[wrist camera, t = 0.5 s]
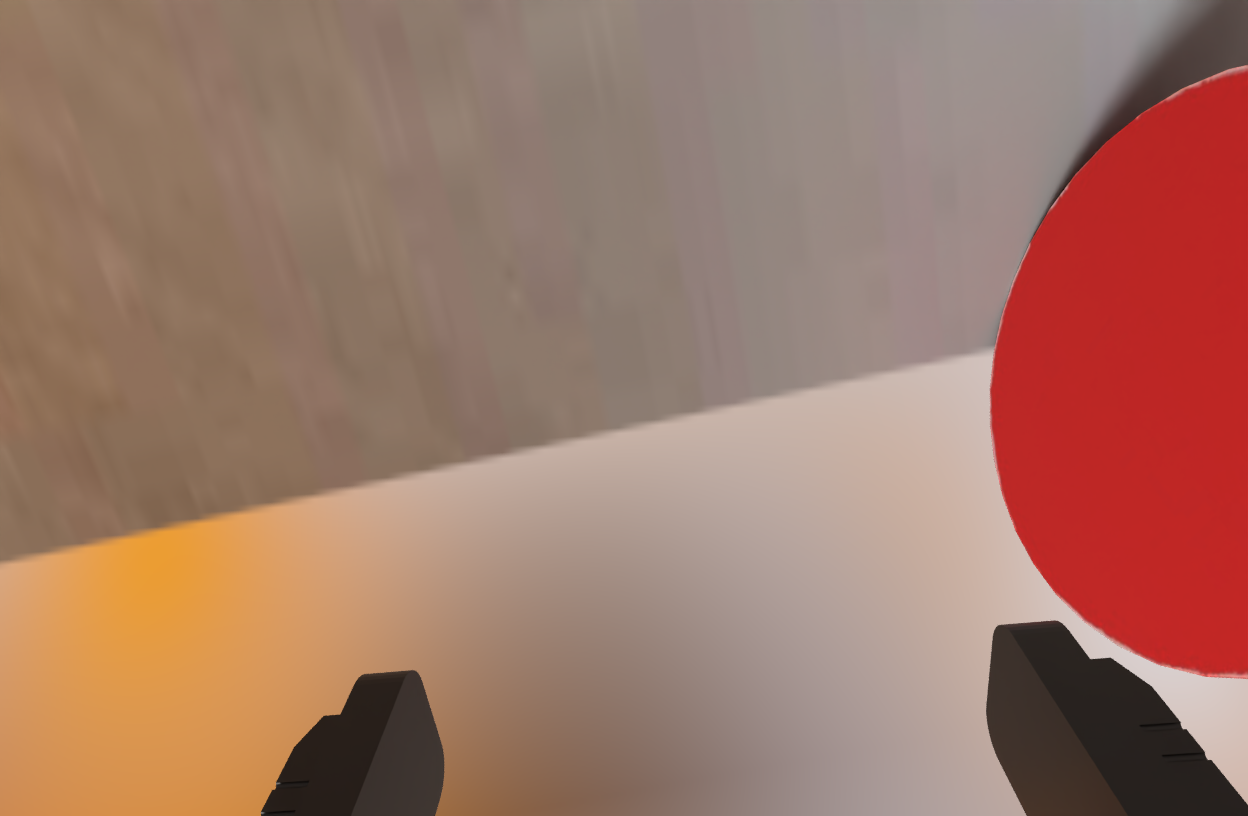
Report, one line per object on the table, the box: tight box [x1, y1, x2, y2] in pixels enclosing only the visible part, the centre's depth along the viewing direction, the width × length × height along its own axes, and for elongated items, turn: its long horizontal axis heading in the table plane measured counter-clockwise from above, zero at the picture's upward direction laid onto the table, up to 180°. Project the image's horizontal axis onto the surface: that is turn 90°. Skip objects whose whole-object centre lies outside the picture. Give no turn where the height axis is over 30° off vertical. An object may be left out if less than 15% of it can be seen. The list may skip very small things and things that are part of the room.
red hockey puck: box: [990, 65, 1248, 679], centre depth 27 cm, size 20×6×20 cm, turn 172°
